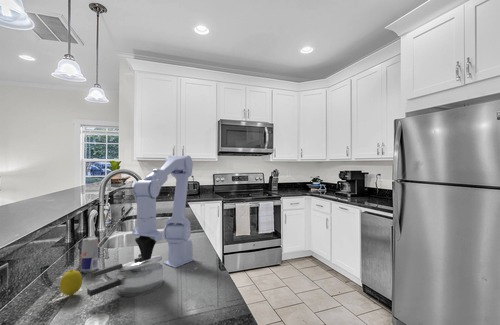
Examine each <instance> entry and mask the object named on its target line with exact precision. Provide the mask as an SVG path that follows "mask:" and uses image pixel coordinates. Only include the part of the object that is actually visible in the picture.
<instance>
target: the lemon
mask: <svg viewBox="0 0 500 325" xmlns="http://www.w3.org/2000/svg"><path fill="white" fill-rule="evenodd" d="M82 284H83V276H82V273H80V271H78V270H76V269H69V271H67V272H65V273H64V274H63V275H62V277H61V279H60V281H59V290H60V293H62V294H63V295H65V296H69V297H72V296H74V294H76V293H78V291H80V289H81V287H82V286H83V285H82Z"/></svg>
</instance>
